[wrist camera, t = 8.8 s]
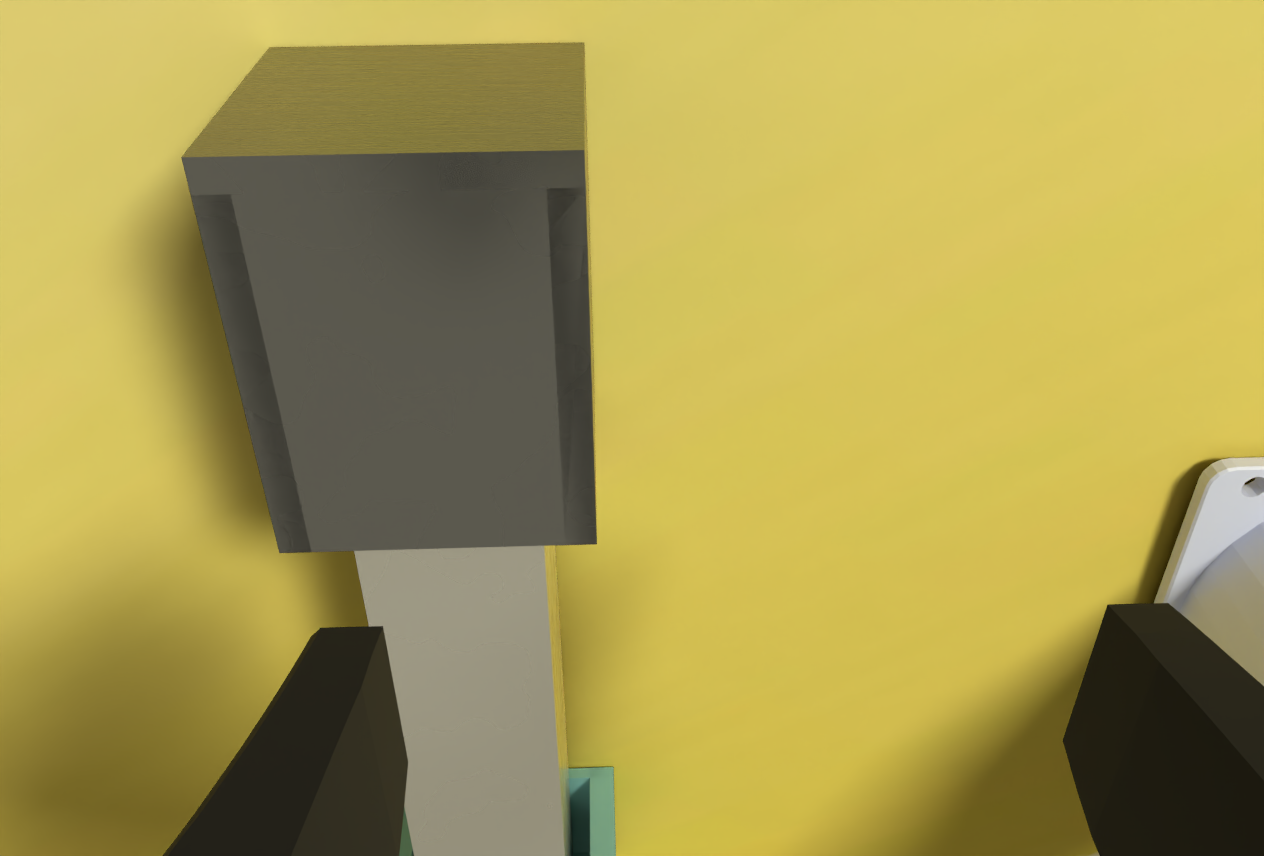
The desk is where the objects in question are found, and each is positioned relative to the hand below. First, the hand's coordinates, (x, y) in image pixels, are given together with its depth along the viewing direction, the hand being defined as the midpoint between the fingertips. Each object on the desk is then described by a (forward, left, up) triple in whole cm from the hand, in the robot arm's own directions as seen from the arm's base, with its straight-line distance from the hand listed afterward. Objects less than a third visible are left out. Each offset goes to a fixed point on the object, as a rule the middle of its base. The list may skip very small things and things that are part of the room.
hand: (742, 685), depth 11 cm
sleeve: (+4, 0, -10) cm, 11 cm away
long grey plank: (+4, +10, -10) cm, 15 cm away
